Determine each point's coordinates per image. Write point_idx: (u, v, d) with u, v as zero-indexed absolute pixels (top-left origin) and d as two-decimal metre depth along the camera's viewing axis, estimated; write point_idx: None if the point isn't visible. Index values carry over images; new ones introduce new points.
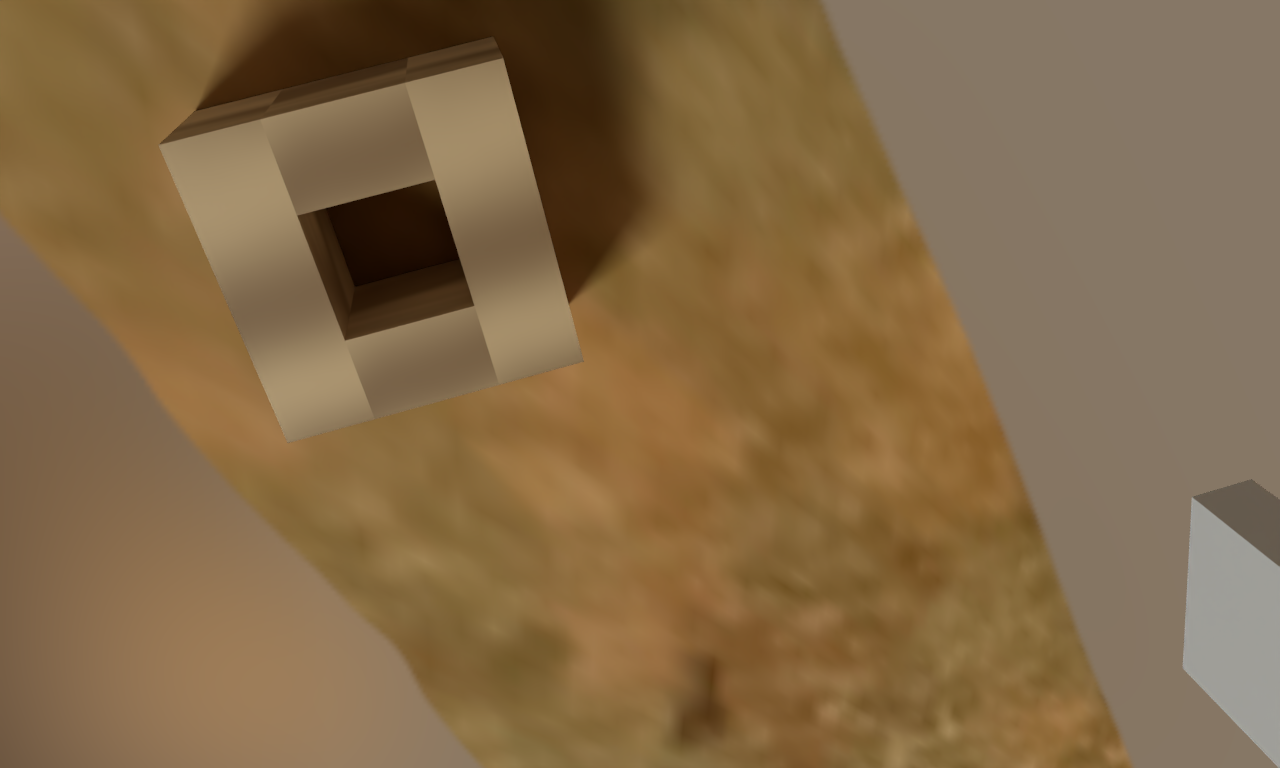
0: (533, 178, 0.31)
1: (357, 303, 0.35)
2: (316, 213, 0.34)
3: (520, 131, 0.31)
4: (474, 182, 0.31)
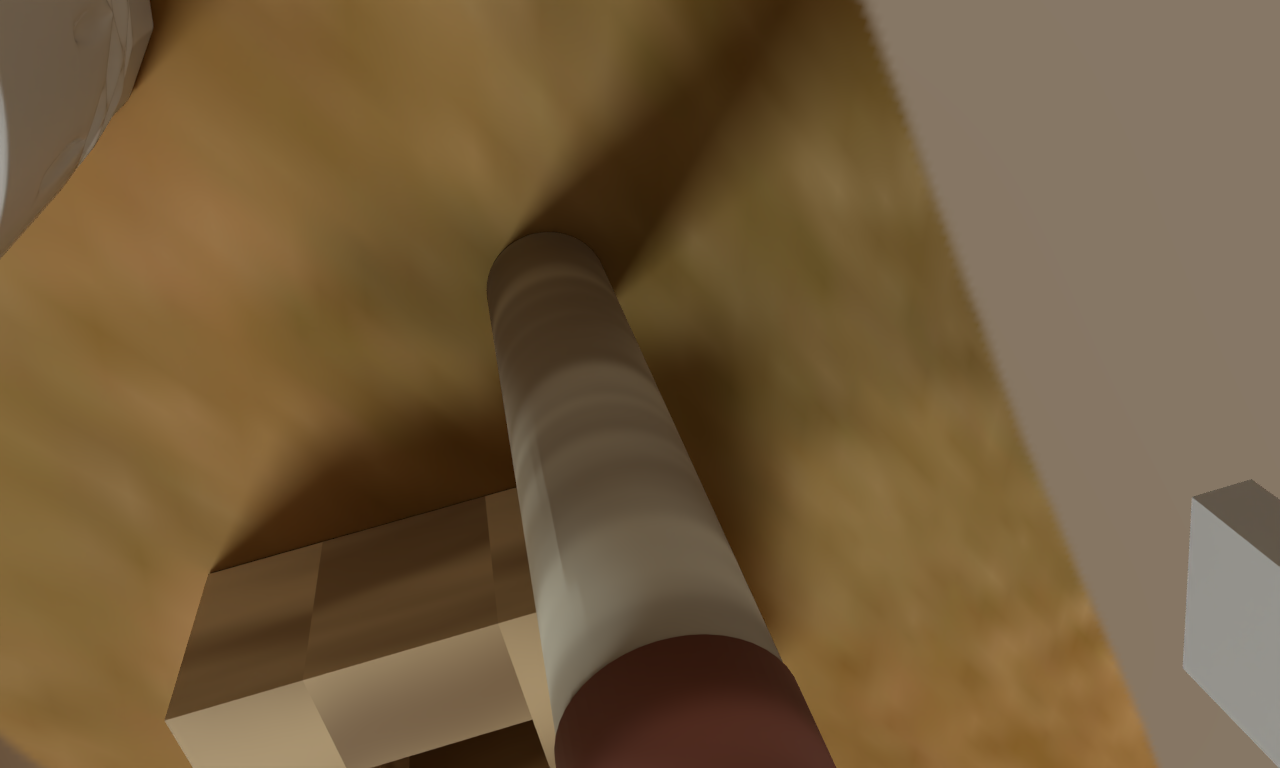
0: None
1: None
2: None
3: None
4: None
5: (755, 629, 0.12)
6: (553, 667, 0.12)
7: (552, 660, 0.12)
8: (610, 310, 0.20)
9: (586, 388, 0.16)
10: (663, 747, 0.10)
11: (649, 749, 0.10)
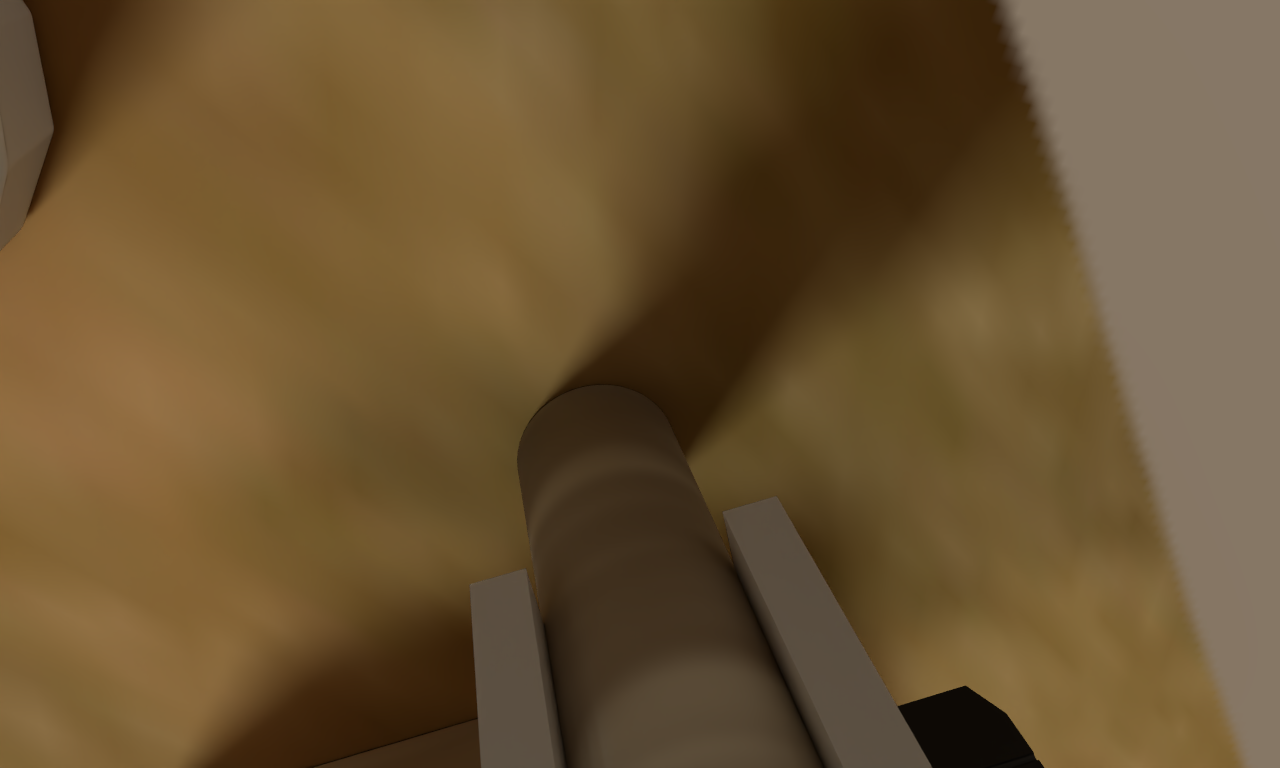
0: None
1: None
2: None
3: None
4: None
5: None
6: None
7: None
8: (700, 529, 0.14)
9: (691, 723, 0.10)
10: None
11: None
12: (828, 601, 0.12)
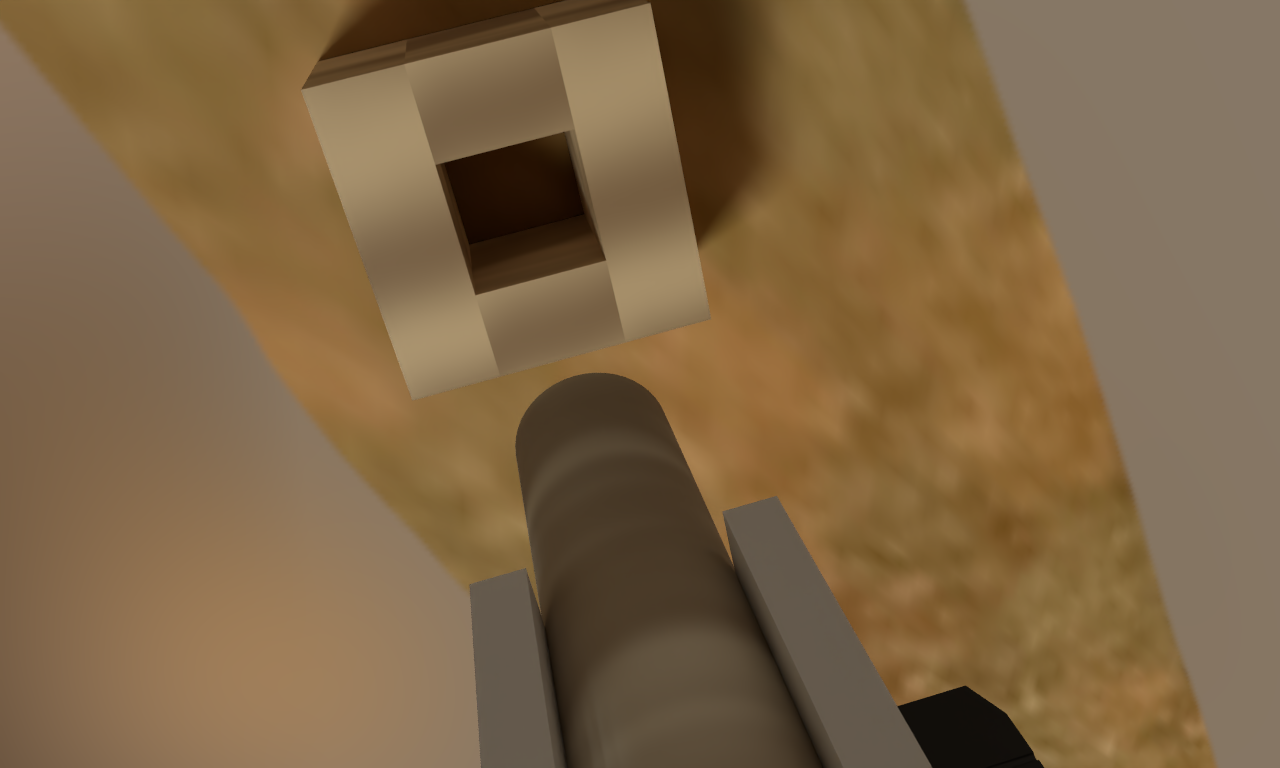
0: (672, 128, 0.31)
1: (477, 260, 0.35)
2: (441, 166, 0.33)
3: (662, 79, 0.30)
4: (614, 131, 0.30)
5: None
6: None
7: None
8: (690, 509, 0.15)
9: (679, 686, 0.11)
10: None
11: None
12: (828, 601, 0.12)
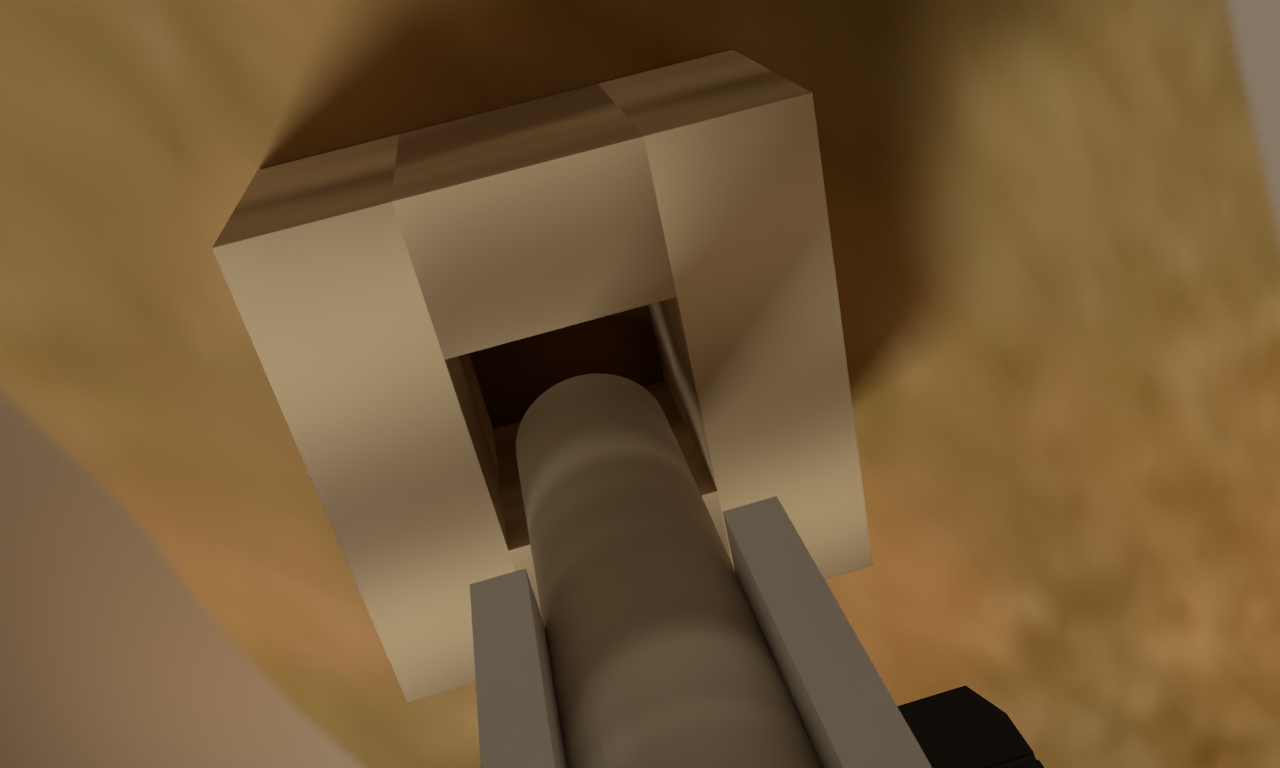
0: (834, 291, 0.19)
1: (507, 465, 0.23)
2: None
3: (824, 215, 0.18)
4: (740, 299, 0.18)
5: None
6: None
7: None
8: (690, 510, 0.15)
9: (680, 686, 0.11)
10: None
11: None
12: (828, 601, 0.12)
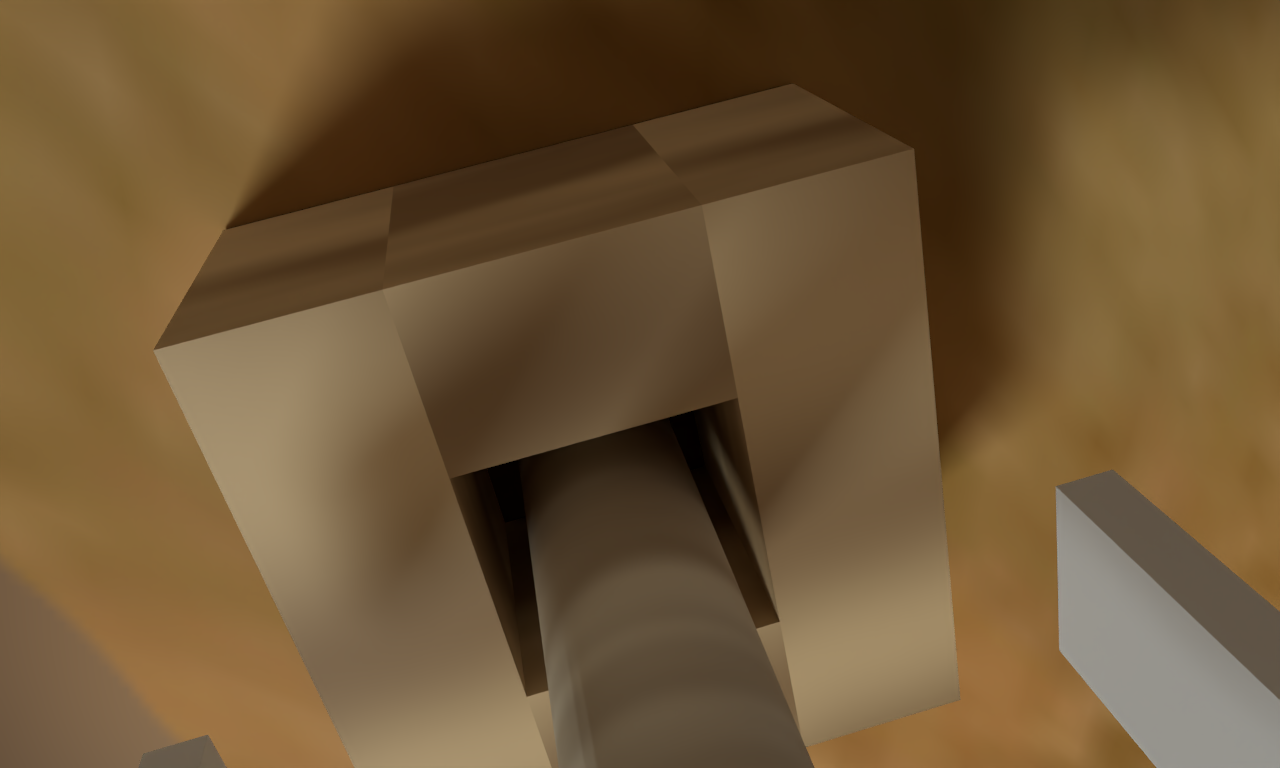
0: (930, 387, 0.15)
1: (522, 574, 0.19)
2: None
3: (921, 298, 0.14)
4: (816, 399, 0.15)
5: None
6: None
7: None
8: (669, 462, 0.16)
9: (648, 608, 0.12)
10: None
11: None
12: (1232, 579, 0.11)
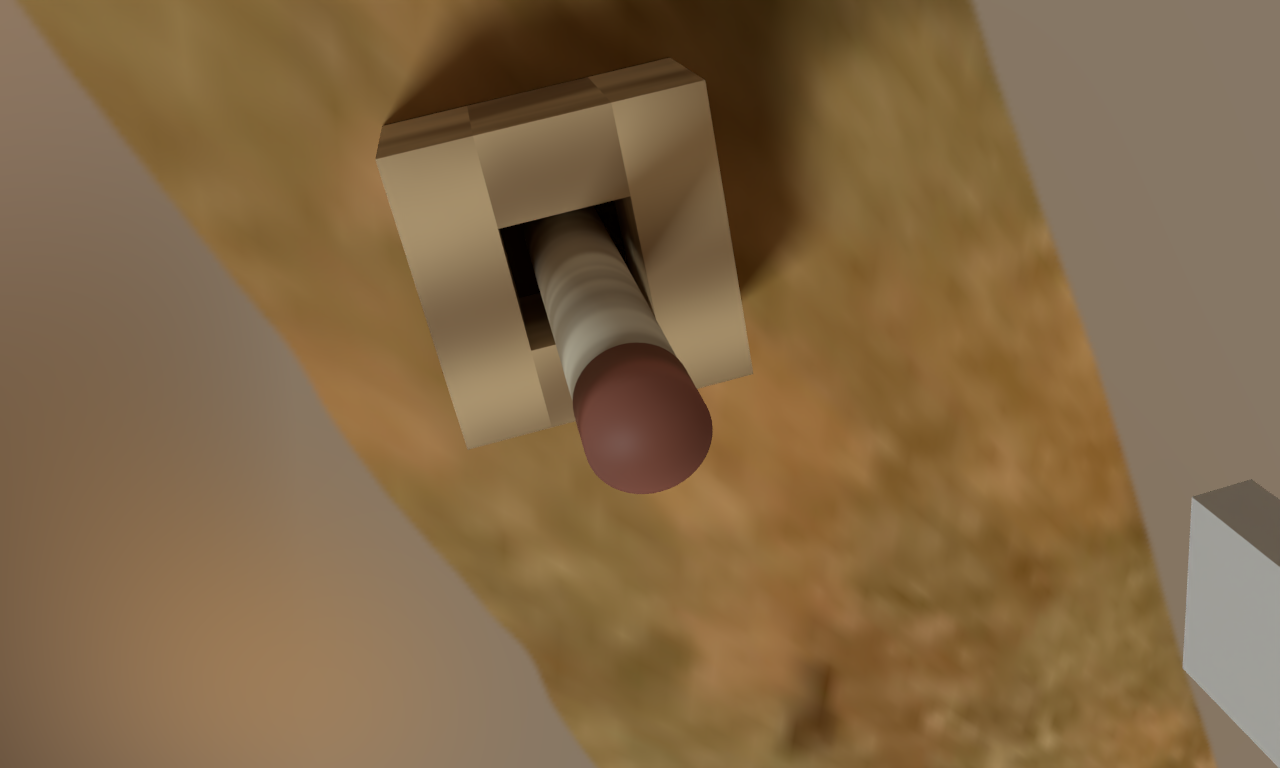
0: (722, 196, 0.32)
1: (528, 314, 0.36)
2: None
3: (714, 150, 0.32)
4: (667, 198, 0.32)
5: (668, 350, 0.25)
6: (571, 370, 0.25)
7: (571, 368, 0.25)
8: (602, 232, 0.33)
9: (588, 263, 0.29)
10: (621, 372, 0.23)
11: (615, 374, 0.23)
12: None
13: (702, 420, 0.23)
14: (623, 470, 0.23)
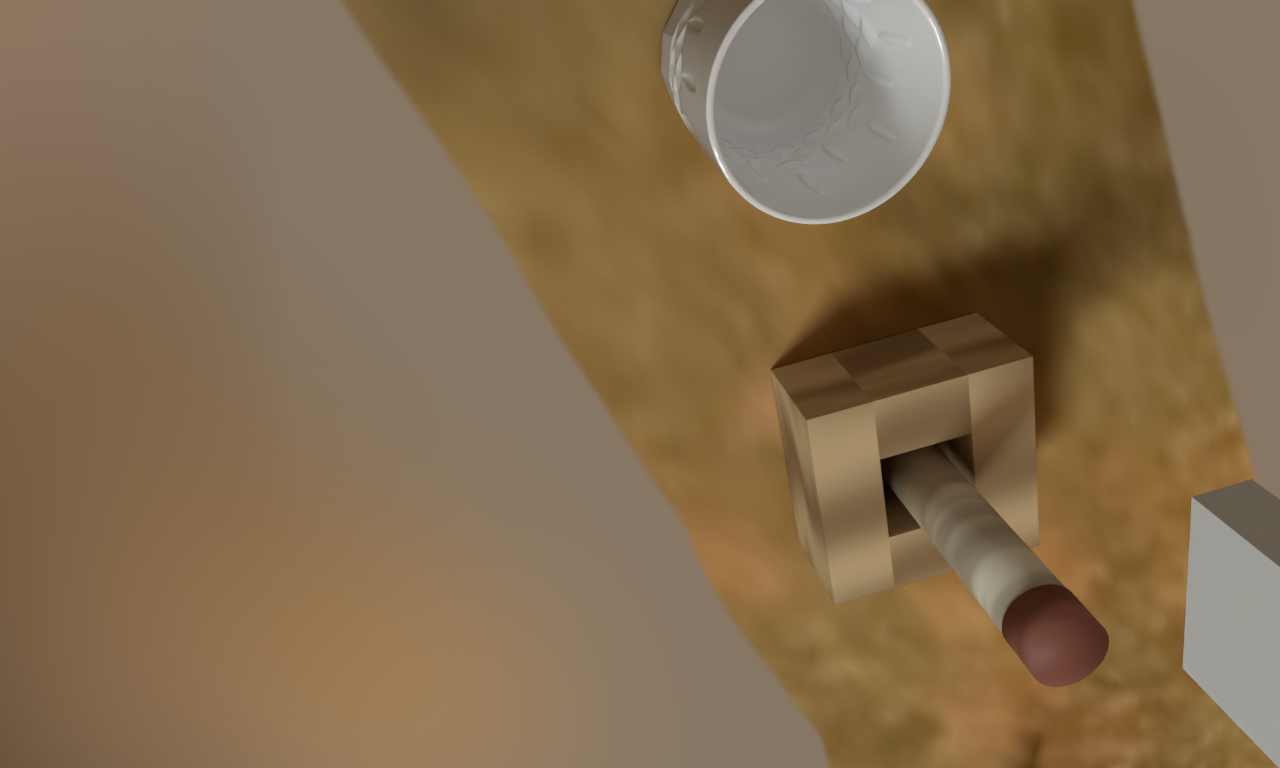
0: (1034, 429, 0.45)
1: None
2: None
3: (1032, 400, 0.44)
4: (996, 433, 0.44)
5: (1061, 584, 0.37)
6: (994, 596, 0.38)
7: (992, 594, 0.38)
8: (943, 454, 0.45)
9: (961, 495, 0.42)
10: (1053, 613, 0.35)
11: (1048, 614, 0.35)
12: None
13: (1103, 642, 0.35)
14: (1050, 673, 0.36)
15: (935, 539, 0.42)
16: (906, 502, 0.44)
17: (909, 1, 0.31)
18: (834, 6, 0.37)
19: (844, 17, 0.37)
